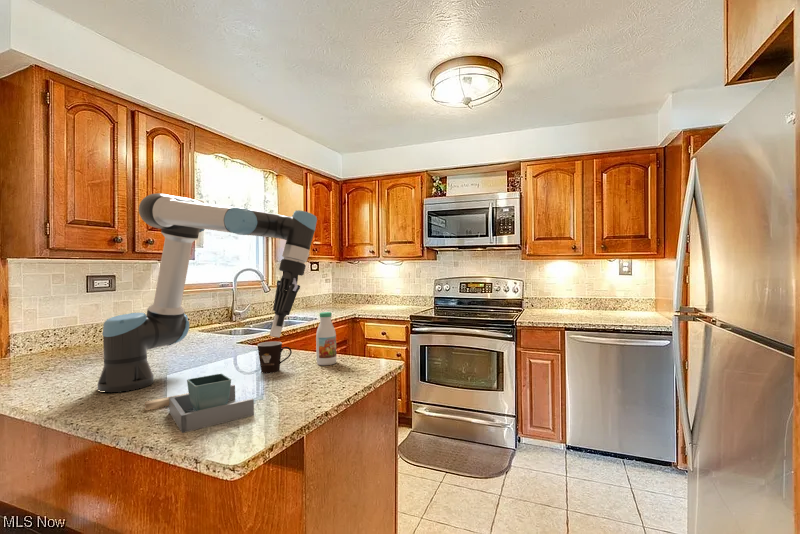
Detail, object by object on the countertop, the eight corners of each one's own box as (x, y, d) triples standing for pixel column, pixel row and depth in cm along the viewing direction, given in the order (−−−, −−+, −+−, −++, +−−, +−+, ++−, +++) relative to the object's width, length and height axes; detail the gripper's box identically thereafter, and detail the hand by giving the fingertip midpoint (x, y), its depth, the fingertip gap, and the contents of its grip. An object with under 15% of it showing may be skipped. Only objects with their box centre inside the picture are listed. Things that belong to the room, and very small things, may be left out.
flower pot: (222, 404, 109) (221, 372, 109) (232, 413, 103) (231, 379, 103) (187, 413, 104) (186, 379, 104) (195, 422, 97) (195, 386, 97)
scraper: (147, 414, 104) (147, 406, 104) (143, 406, 110) (143, 399, 110) (208, 401, 114) (208, 394, 114) (202, 394, 120) (202, 387, 120)
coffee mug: (252, 372, 143) (252, 345, 143) (270, 366, 151) (270, 340, 151) (276, 376, 138) (275, 347, 138) (293, 370, 145) (293, 343, 145)
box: (234, 398, 115) (233, 384, 115) (253, 414, 101) (253, 399, 101) (169, 412, 104) (169, 397, 104) (181, 432, 91) (181, 415, 91)
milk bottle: (312, 365, 152) (311, 313, 152) (323, 360, 159) (322, 311, 159) (329, 366, 149) (328, 313, 149) (340, 361, 157) (339, 311, 156)
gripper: (314, 265, 118) (294, 342, 116) (297, 262, 129) (278, 333, 126) (291, 258, 114) (270, 339, 112) (275, 256, 124) (255, 330, 122)
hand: (274, 336), depth 119 cm, fingers closed
